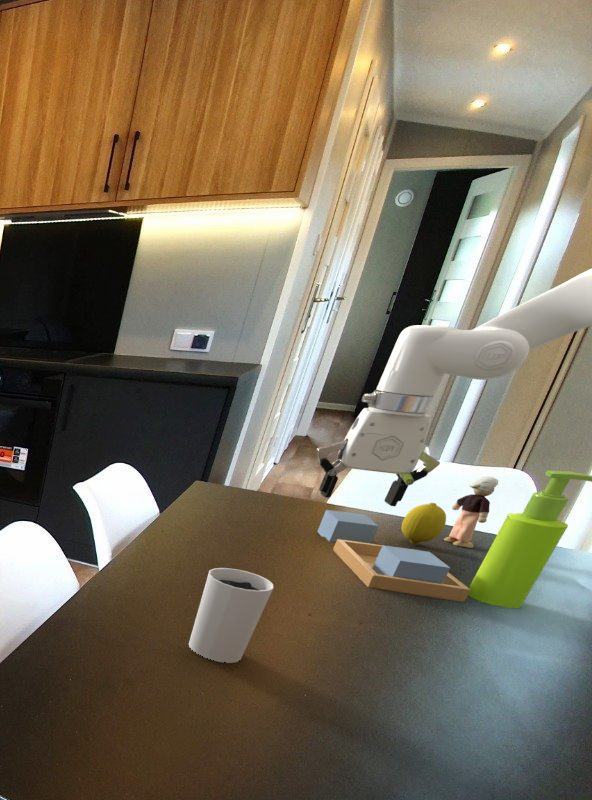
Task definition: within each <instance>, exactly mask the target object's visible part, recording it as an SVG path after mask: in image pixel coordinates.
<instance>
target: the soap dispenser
mask: <svg viewBox="0 0 592 800" xmlns="http://www.w3.org/2000/svg"><path fill="white" fill-rule="evenodd" d="M544 475H545V476H547V477H548V478H550V479H549V481H548V483H547V484H546V487H545V488H544V490H541V491H537V492H534V493H532V495H531V497H530V498H529V500H528V502H527V504H526V506H525V507H524V509H523V511H522V512H513V513H508V514H507V516H506V517H505V520H504V521H503V523H502V525H501V527H500V528H499V531H498V532H497V533H496V536H495V539H494V540H493V542H492V543H491V546H490V547H489V549H488V551H487V553H486V555H485V557H484V558H483V560H482V562H481V564H480V566H479V567H478V570H477V572H476V573H475V575H474V577H473V579H472V581H471V583H470V584H469V586H468V588H469V589H470V592H469V594H468V595H467V597H469V598H471V599H473V600H476V601H478V602H481V603H483V604H488V605H491V606H495V607H500V608H506V609H520V608H521V607H522V605H523V604H524V602H525V600H526V599H527V597H528V595H529V593H530V592H531V590H532V589H533V587H534V585H535V583H536V581H537V580H538V578H539V576H540V575H541V573H542V571H543V570H544V568H545V566H546V565H547V563H548V561H549V559H550V557H551V556H552V554H553V553H554V551H555V550H556V547H557V546H558V544H559V542H560V541H561V539H562V538H563V535H564V534H565V532H566V530H567V529H568V527H569V525H568V524H567V523H565V522H563V521H561V520H559V517H560V515H561V514H562V512H563V510H564V509H565V506H566V505H567V503H568V501H569V497H566V496H565V494H563V493H564V492H565V489H566V487H567V486H568V484H569V483H570V481H571V480H576V481H587V482H590V483H591V482H592V475H591V474H587V473H581V472H576V471H565V470H546V471H545V473H544Z"/></svg>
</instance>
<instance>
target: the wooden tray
mask: <svg viewBox="0 0 592 800" xmlns="http://www.w3.org/2000/svg"><path fill="white" fill-rule="evenodd" d="M334 543H335V544H334V545H333V549H332V551H333V552H334V553H335V554H336V555H337V556H338V557H339V558H340V559H341V560H342V561H343V562H344V564H346V565H347V567H348V568H349V569H350V570H351V571H352V572H353V573H354V574H355V575H356V576H357V578H359V580H360V581H362V583H363V584H364V585H366V587H367V588H371V589H378V590H385V591H391V592H396V593H403V594H410V595H415V596H416V595H417V596H422V597H429V598H436V599H441V600H442V599H443V600H449V601H455V602H460V603H465V602H466V599H467V598H468V594H469V592H470V589H469V586H467V585H465V584H464V583H463V582H462V581H460V580H459V579H457V578H456V577H455V576H454V575H453V574H451V573H449V572H448V574H447V576H446V578H445V579H444V581H443V583H442V584H439V583H433V582H426V581H419V580H413V579H406V578H399V577H393V576H386V575H379V574H377V573H376V572H375V571H374V570H373V569H372V568H373V565H374V563H375V561H376V559H377V557H378V555H379V552H380V550H381V548H382V546H385V545H383V544H377V543H371V544H370V543H362V542H355V541H348V540H340V539H337V541H336V542H334ZM389 546H390V545H389ZM390 547H393V545H391V546H390ZM396 547H397V548H400V547H399V546H396ZM404 548H405V549H407V548H406V547H404ZM411 549H412V550H414V549H413V548H411ZM418 550H419V551H421V550H420V549H418Z"/></svg>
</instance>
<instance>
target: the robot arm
mask: <svg viewBox="0 0 592 800" xmlns="http://www.w3.org/2000/svg"><path fill="white" fill-rule="evenodd" d="M589 327H592V268H590V269H587V270H585V271H583V272H581V273H579V274H578V275H576V276H574V277H572V278H571V279H569V280H566V281H564V282H563V283H561V284H559V285H556V286H555V287H553V288H551V289H548V290H547V291H545V292H542V293H541V294H539V295H537V296H534V297H532V298H530V299H529V300H526V301H525V302H523V303H521V304H519V305H517V306H514V307H513V308H511V309H509V310H507V311H505V312H503V313H502V314H499V315H498V316H496V317H493V318H492V319H489V320H488V321H486V322H484V323H482V324H481V325H478V326H477V327H474V328H473V329H459V328H455V327H451V326H441V325H426V324H425V325H419V324H417V325H410V326H408V327H405V328H403V330H402V331H401V332H400V333H399V335H398V338H397V340H396V342H395V344H394V347H393V349H392V351H391V354H390V356H389V358H388V361H387V363H386V365H385V367H384V371H383V373H382V375H381V377H380V379H379V382H378V384H377V386H376V389H374V390H373V392H372V393H364V394H363V395H362V397H361V403H366V404H367V406H368V407H364V408H363V409H362V410H361V411H360V413H359V414H358V415H357V417H356V419H355V420H354V422H353V423H352V425H351V426H350V428H349V430H348V432H347V434H346V435H345V438H344V439H343V440H341V441H337V442H333V443H329V444H326V445H322V446H319V447H317V448H316V449H315V453H316V457H317V460H318V461H317V463H318V464H319V465H320V467H321V468H322V470H323V472H324V475H323V478H322V480H321V482H320V486H319V487H318V488H319V489H318V491H319V492H320V495H321V496H323V498H326V499H327V498H331V496H332V495H333V492H334V489H335V488H336V484H337V483H338V480H339V477H338V476H337V475H338V474H339V473H341V472H343V471H344V470H346V469H352V470H359V471H367V472H368V471H369V472H377V473H384V474H395V475H396V477H397V480H394V481H392V483H391V485H390V488H389V490H388V492H387V493H386V496H385V498H384V502H385V503H386V505H389V506H390V507H396V506H397V504H398V502H401V501H402V500H403V498H404V496H405V493H406V492H407V489H408V487H409V486H411V485H413V484H414V483H415V482H417V481H419V480H422V479H424V478H425V477H427V476H428V474H429V473H431V472H432V471H433V470H435V469H436V468H438V467H439V466H440V463H441V462H440V461H439V460H438V459H436V458H434V457H433V456H431V455H430V454H428V453H426V452H425V451H423V450H424V447H425V444H426V440H427V437H428V435H429V430H430V427H431V421H432V416H431V415H429V414H427V413H428V411H429V408H430V406H431V404H432V401H433V400H434V397H435V395H436V393H437V390H438V389H439V388H440V387H439V386H440V385H441V382H442V381H443V379H444V376H445V375H452V376H457V377H462V378H467V379H472V380H479V381H488V380H494V379H498V378H502V377H505V376H507V375H509V374H511V373H513V372H514V371H516V370H518V369H519V368H520V367H521V366H522V365H523V364H524V363H525V362H526V360H527V358H528V356H529V353H530V352H533V351H534V350H536V349H538V348H540V347H542V346H544V345H546V344H549V343H551V342H554V341H555V340H558V339H560V338H563V337H565V336H568V335H570V334H573V333H575V332H577V331H581V330H583V329H586V328H589ZM335 452H338V453H337V454H336V460H335V461H333V462H330V460H329V454H331V453H335ZM419 461H421V462H422V463H423V464H422V465H421V466H420V467H419V468H416V466H417V464H418V462H419ZM415 468H416V469H415Z"/></svg>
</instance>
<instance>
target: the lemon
mask: <svg viewBox="0 0 592 800" xmlns="http://www.w3.org/2000/svg"><path fill="white" fill-rule="evenodd" d="M446 523H447V514H446V512H445V510H444V509H443V508H442V507H440V506H439V505H437V503H435V502H429V503H424V504H420V505H417V506H415V507H413V508H412V509H411V510H410V511H408V513H407V514H406V515H405V516H404V518H403V519H402V522H401V528H400V529H401V532H402V535H403V536H404V537H405V538H406V539H408V540H409V542H410V543H411V544H412V545H417V544H421V543H426V542H430V541H432V540H434V539H435V538H437V537H438V536H440V534H441V533H442V532H443V531H444V529H445V526H446Z"/></svg>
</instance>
